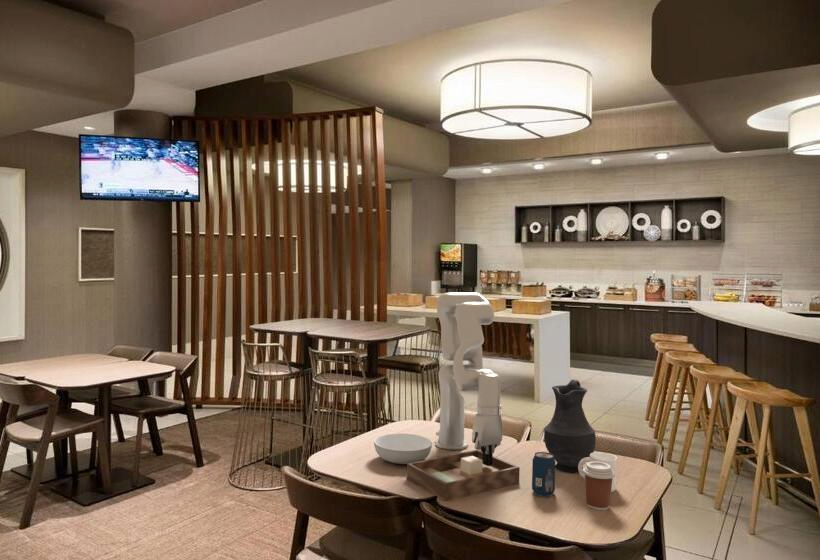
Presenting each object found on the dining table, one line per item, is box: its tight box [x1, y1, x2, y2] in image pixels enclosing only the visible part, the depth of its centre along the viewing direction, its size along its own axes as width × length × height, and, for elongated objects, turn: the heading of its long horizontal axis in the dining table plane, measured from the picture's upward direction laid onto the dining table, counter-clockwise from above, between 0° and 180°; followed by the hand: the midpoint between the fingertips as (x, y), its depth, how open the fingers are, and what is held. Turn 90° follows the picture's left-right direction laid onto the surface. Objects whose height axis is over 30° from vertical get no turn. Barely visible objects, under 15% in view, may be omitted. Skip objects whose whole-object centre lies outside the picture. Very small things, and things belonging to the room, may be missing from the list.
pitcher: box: [543, 379, 597, 474], centre depth 202 cm, size 17×21×30 cm
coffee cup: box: [583, 461, 615, 511], centre depth 169 cm, size 9×9×12 cm
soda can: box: [531, 451, 556, 498], centre depth 178 cm, size 7×7×12 cm
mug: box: [578, 451, 618, 493], centre depth 184 cm, size 12×8×10 cm
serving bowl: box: [373, 432, 433, 465], centre depth 207 cm, size 21×21×7 cm
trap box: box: [406, 449, 520, 502], centre depth 187 cm, size 30×21×5 cm
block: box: [461, 456, 482, 475], centre depth 189 cm, size 5×5×4 cm
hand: (487, 464), depth 193 cm, fingers closed
